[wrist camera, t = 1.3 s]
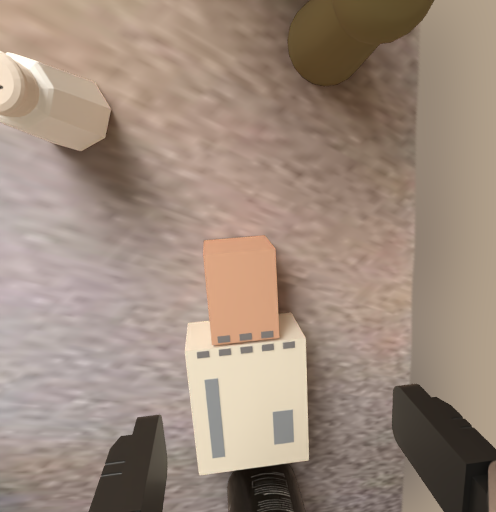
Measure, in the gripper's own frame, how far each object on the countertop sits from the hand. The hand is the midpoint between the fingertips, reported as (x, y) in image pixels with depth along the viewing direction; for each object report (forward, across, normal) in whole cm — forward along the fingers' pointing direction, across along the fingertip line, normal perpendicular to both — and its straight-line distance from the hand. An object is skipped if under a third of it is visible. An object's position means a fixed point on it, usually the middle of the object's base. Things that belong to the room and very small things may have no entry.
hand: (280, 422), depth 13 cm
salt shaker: (+20, +11, -13) cm, 26 cm away
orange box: (+19, 0, +1) cm, 19 cm away
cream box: (+19, 0, +10) cm, 22 cm away
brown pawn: (+20, -8, -17) cm, 27 cm away
